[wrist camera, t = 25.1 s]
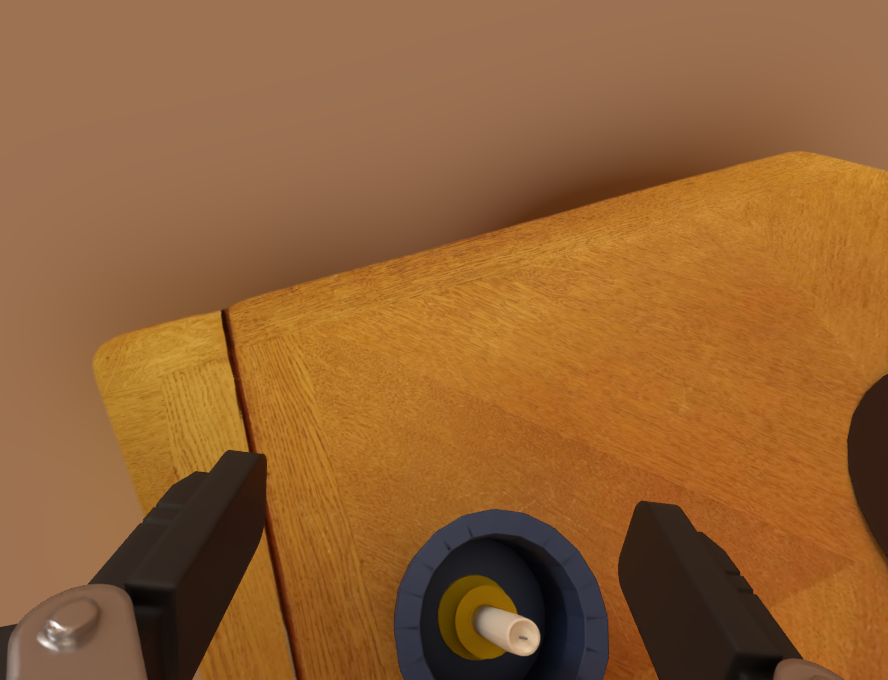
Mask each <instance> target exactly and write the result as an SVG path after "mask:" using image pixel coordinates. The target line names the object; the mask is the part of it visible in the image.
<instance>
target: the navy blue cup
mask: <svg viewBox="0 0 888 680" xmlns="http://www.w3.org/2000/svg"><path fill="white" fill-rule="evenodd" d="M467 575H480V576H484V577H488V578H489V579H491V580H493V581H494V582H496V583H497V584H498V585H499V586H500V587H501V588H502V589H503V591H504V592H505V593H506V594H507V595H508V597H509V598H510V599H511V600H512V602H513V604H514V606H515V608H516V611H517V614H518V615H520V616H523V617H524V618H527V619H529V620H531V621H533V622H534V623H535V624H536V626H537V628H538V629H539V633H540V643H539V646H538V648H537V650H536V651H535V652H534V653H532V654H531V655H528V656H520V655H516V654H513V653H510V652H508V651H506V652H505V653H504V654H502V655H501V656H498V657H496V658H492V659H484V660H468V659H465V658H462V657H460V656H459V655H457V654H455V653H454V652H453V651H452V650H451V649H450V648H449V647H448V646H447V645H446V643H445V642H444V640H443V638H442V636H441V634H440V630H439V626H438V614H437V611H438V607H439V602H440V599H441V597H442V595H443V593H444V591H445V590H446V589H447V588H448V587H449V585H450V584H451V583H453V582H454V581H456V580H457V579H458V578H461V577H464V576H467ZM607 617H608V615H607V612H606V609H605V605H604V602H603V599H602V595H601V592H600V589H599V585H598V582H597V580H596V578H595V576H594V575H593V573H592V571H591V570H590V568H589V567H588V565H587V563H586V562H585V560H584V558H583V557H582V555H581V553H580V552H579V551H578V550H577V548H575V547H574V546H573V545H572V544H571V543H570V542H569V541H568V540H567V539H566V538H565V537H564V536H563V535H561V534H560V533H559V532H558V531H557V530H556V529H555V528H553V527H552V526H550V525H548V524H546V523H544V522H542V521H540V520H538V519H536V518H534V517H532V516H530V515H527V514H524V513H521V512H513V511H506V510H498V509H494V510H493V509H492V510H487V511H482V512H477V513H472V514H467V515H464V516H461V517H460V518H458V519H456V520H455V521H453V522H451V523H450V524H448V525H446V526H445V527H443V528H441V529H439V530H438V531H437V532H435V534H434V535H433V536H432V537H431V538H430V539H429V540H428V542H427V543H426V544H425V545H424V546H423V547H422V548H421V550H420V551H419V552H418V553H417V554H416V555H415V556H414V558H413V559H412V561H411V562H410V563H409V565H408V567H407V570H406V572H405V574H404V576H403V578H402V581H401V583H400V585H399V589H398V592H397V600H396V607H395V614H394V633H395V641H396V648H397V655H398V663H399V668H400V672H401V674H402V676H403V678H404V680H603V678H604V674H605V670H606V666H607V662H608V658H609V656H608V655H609V639H608V618H607Z"/></svg>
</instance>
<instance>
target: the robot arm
mask: <svg viewBox="0 0 888 680" xmlns="http://www.w3.org/2000/svg"><path fill="white" fill-rule="evenodd" d="M266 479H267V459H266V456H265V455H264V454H258V453H250V452H241V451H233V450H228V451H226V452H225V453H224V454H223V456H222V457H221V458H220V459H219V461H218V462H217V463H216V465H215V466H214V467H213V469H212V470H211V471H210V472H209V473H207V472H198V471H195V472H194V473H192V474H190V475H189V476H187V477H185V478H184V479H182V480H181V481H179V482H177V483H176V484H174V485H172V486H171V488H170V489H169V490H168V491H167V492H166V493H165V495H164V496H163V497H162V498H161V499H160V500H159V502H158V503H157V505H156V508H154V507H153V509H152V510H151V511H150V512H149V513H148V514H147V516H146V517H145V518H144V519H143V523H140V524H139V525H138V526H137V527H136V529H135V530H134V531H133V532H132V533H131V534H130V535H129V537H128V538H127V539H126V540H125V541H124V543H123V544H122V545H121V546H120V547H119V548H118V550H117V551H116V552H115V553H114V554H113V555H112V557H111V558H110V559H109V560H108V561H107V562H106V564H105V565H104V566H103V567H102V568H101V569H100V571H99V572H98V573H97V574H96V575H95V576H94V578H93V579H92V580H91V581H90V582H89V583H88V585H83V586H79V587H75V588H71V589H69V590H66V591H64V592H61V593H58V594H56V595H54V596H52V597H50V598H48V599H47V600H45V601H43V602H42V603H40V604H39V605H37V606H36V607H35V608H33V609H32V610H31V611H30V612H29V613H27V614H26V615H25V616H24V617H23V618H22V620H21V621H20V622H19V623H18V624H15V625H9V626H4V627H0V680H192V679H193V677H194V675H195V673H196V671H197V669H198V667H199V665H200V663H201V661H202V659H203V657H204V655H205V653H206V650H207V648H208V646H209V644H210V642H211V640H212V638H213V636H214V634H215V632H216V630H217V628H218V626H219V624H220V622H221V620H222V618H223V616H224V614H225V612H226V610H227V608H228V606H229V604H230V602H231V600H232V598H233V596H234V594H235V592H236V590H237V588H238V586H239V584H240V582H241V579H242V577H243V575H244V573H245V571H246V569H247V567H248V565H249V563H250V561H251V559H252V557H253V555H254V553H255V551H256V549H257V547H258V545H259V542H260V539H261V536H262V532H263V528H264V523H265V514H266ZM618 576H619V582H620V586H621V589H622V592H623V594H624V597H625V599H626V601H627V604H628V606H629V609H630V611H631V613H632V616H633V618H634V621H635V623H636V625H637V628H638V630H639V633H640V635H641V637H642V640H643V642H644V644H645V647H646V649H647V652H648V654H649V656H650V659H651V661H652V664H653V666H654V668H655V671H656V673H657V676H658V678H659V680H844V679H843V678H841V677H840V676H838V675H837V674H835V673H834V672H832V671H830V670H828V669H826V668H824V667H822V666H820V665H818V664H815V663H813V662H810V661H806V660H804V659H803V658H802V656H801V655H800V654H799V652H798V651H797V649H796V648H795V647H794V645H793V644H792V643H791V641H790V640H789V639H788V637H787V636H786V634H785V633H784V632H783V630H782V629H781V628H780V626H779V625H778V623H777V622H776V621H775V619H774V618H773V617H772V615H771V614H770V612H769V611H768V610H767V608H766V607H765V606H764V604H763V603H762V601H761V600H760V599H759V597H758V596H757V595H756V594H753V589H752V588H751V586H750V585H749V584H748V582H747V581H746V579H745V578H744V577H743V576H740V571H739V570H738V568H737V567H736V566H735V564H734V563H733V562H732V560H731V559H730V557H729V556H728V555H727V553H726V552H725V551H724V550H723V549H722V548H721V547H719V546H718V545H717V544H716V543H715V542H713V541H712V540H711V539H710V538H709V537H707V536H706V535H705V534H704V533H703V532H697V531H696V529H695V528H694V526H693V525H692V523H691V522H690V521H689V519H688V518H687V516H686V515H685V513H684V512H683V510H682V509H681V508H680V507H679V506H677V505H673V504H665V503H656V502H648V501H640V502H639V503H638V504H637V505H636V507H635V510H634V513H633V516H632V519H631V522H630V525H629V528H628V531H627V535H626V538H625V541H624V544H623V547H622V550H621V553H620V557H619V563H618Z"/></svg>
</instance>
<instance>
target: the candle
mask: <svg viewBox="0 0 888 680" xmlns="http://www.w3.org/2000/svg"><path fill="white" fill-rule="evenodd" d="M437 614H438V626H439V630H440V634H441V636H442V638H443V640H444V642H445V643H446V645H447V646H448V647H449V648H450V649H451V650H452V651H453V652H454V653H455V654H457V655H459V656H460V657H462V658H465V659H468V660H484V659H492V658H496V657H498V656H501V655H502V654H504V653H505V652H506V651H508V652H510V653H513V654H516V655H520V656H528V655H531V654H532V653H534V652H535V651H536V650H537V648H538V646H539V643H540V633H539V629H538V628H537V626H536V624H535V623H534V622H533V621H531V620H529V619H527V618H524V617H523V616H520V615H518V614H517V611H516V608H515V606H514V604H513V602H512V600H511V599H510V598H509V597H508V595H507V594H506V593H505V592H504V591H503V589H502V588H501V587H500V586H499V585H498V584H497V583H496V582H494V581H493V580H491V579H489V578H488V577H484V576H480V575H467V576H464V577H461V578H458V579H457V580H456V581H454V582H453V583H451V584H450V585H449V587H448V588H447V589H446V590H445V591H444V593H443V595H442V597H441V599H440V602H439V607H438V611H437Z"/></svg>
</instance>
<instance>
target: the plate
mask: <svg viewBox="0 0 888 680" xmlns="http://www.w3.org/2000/svg"><path fill="white" fill-rule="evenodd" d="M848 461H849V472H850V475H851V479H852V483H853V486H854V490H855V494H856V497H857V501H858V503H859V505H860V507H861V510H862V512H863V514H864V516H865V518H866V520H867V522H868V524H869V526H870V528H871V530H872V532H873V535H874V537H875V538H876V540H877V541H878V543H879V544H880V545H881V547H882V548H883V550H884V551H885V553H886V554H887V556H888V374H887V375H885V376H883V377H882V378H881V379H880V380H879V381H878V382H877V383H876V384H875V385H874V386H873V387H872V388H871V389H870V390H869V391H868V392H866V393H865V395H864V397H863V399H862V400H861V402H860V404H859V406H858V407H857V409H856V411H855V413H854V414H853V419H852V423H851V427H850V432H849V436H848Z"/></svg>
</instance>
